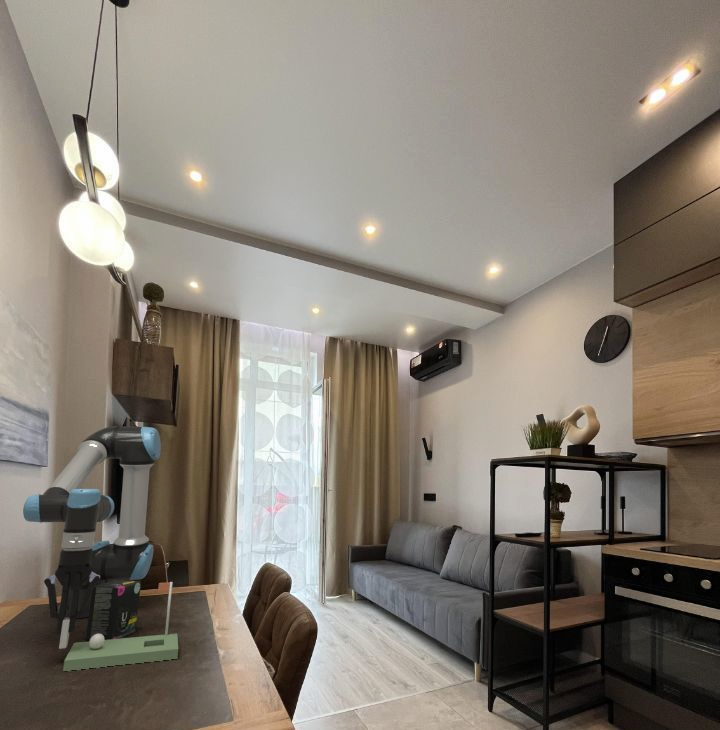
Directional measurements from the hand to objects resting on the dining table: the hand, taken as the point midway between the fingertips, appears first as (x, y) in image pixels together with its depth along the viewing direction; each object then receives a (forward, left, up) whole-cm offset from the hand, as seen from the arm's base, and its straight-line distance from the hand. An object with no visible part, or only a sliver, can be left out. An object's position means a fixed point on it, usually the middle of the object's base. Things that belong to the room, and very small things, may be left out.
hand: (63, 646), depth 123 cm
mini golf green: (0, +15, -4) cm, 15 cm away
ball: (0, +8, 0) cm, 8 cm away
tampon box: (-20, +10, -4) cm, 23 cm away
